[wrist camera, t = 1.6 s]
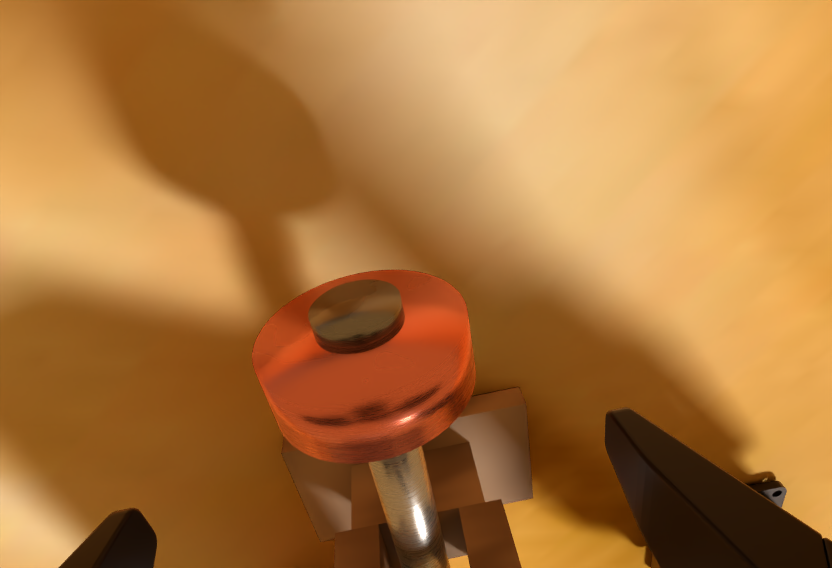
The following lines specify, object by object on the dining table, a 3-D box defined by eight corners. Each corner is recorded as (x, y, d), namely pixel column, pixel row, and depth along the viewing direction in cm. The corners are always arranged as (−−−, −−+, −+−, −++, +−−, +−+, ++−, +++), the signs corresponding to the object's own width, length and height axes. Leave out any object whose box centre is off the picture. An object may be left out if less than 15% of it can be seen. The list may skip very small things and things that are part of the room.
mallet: (445, 236, 14) (488, 349, 10) (494, 564, 22) (530, 708, 18) (262, 273, 14) (219, 403, 10) (379, 588, 22) (386, 738, 18)
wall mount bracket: (519, 387, 21) (607, 594, 14) (526, 480, 24) (602, 691, 17) (284, 434, 21) (248, 670, 14) (321, 522, 24) (308, 753, 17)
